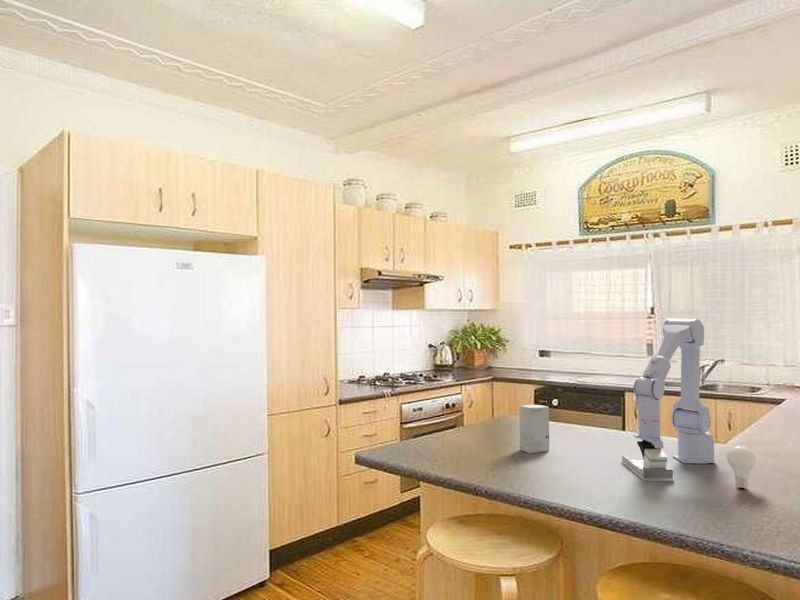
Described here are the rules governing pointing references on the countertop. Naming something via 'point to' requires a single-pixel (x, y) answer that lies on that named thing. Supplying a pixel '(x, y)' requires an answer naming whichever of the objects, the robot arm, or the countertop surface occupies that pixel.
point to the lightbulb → (741, 464)
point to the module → (654, 458)
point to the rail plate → (648, 471)
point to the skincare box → (534, 428)
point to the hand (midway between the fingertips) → (649, 467)
